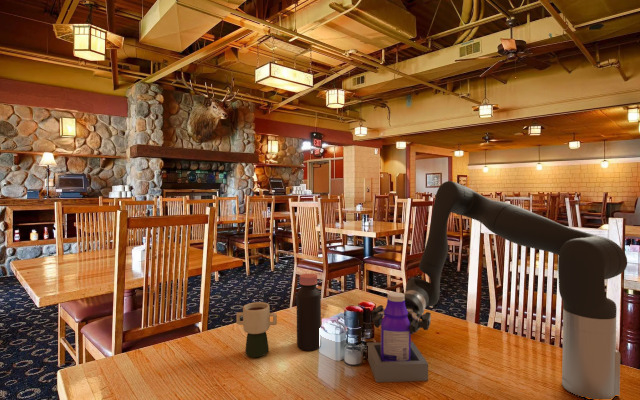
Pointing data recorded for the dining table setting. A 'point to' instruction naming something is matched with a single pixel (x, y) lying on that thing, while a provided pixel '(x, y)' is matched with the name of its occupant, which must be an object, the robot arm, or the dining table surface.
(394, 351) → the bottle
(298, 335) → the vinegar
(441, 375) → the dining table surface
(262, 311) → the character mug
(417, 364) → the grey square tray
